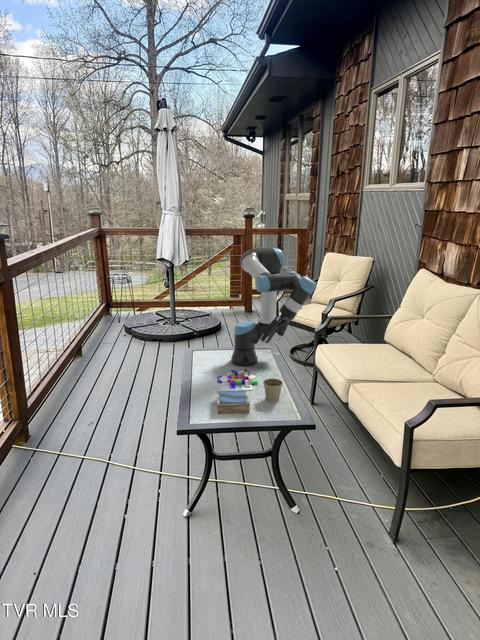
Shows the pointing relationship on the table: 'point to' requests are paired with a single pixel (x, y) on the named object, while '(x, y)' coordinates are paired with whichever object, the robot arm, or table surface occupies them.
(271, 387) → the flower pot
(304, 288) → the robot arm
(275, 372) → the table surface
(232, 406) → the plinth
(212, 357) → the table surface
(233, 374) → the building block set
